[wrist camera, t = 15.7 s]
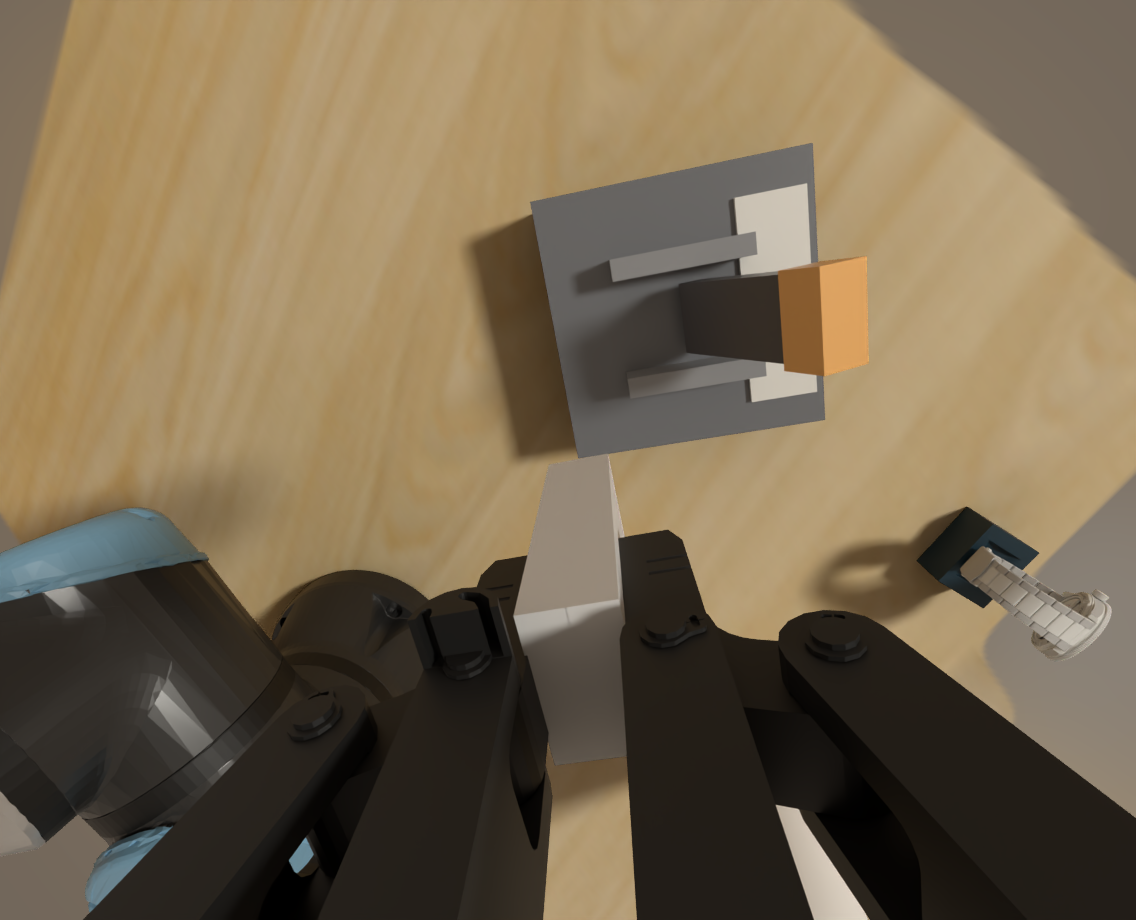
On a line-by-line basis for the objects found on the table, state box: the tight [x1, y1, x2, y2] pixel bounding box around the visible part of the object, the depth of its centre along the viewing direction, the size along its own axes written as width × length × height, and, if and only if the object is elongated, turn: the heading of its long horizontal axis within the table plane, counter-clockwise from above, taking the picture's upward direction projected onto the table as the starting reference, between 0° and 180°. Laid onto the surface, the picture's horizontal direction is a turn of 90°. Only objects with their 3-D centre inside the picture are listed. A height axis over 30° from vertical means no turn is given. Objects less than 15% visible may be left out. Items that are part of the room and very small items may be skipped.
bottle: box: [776, 805, 868, 920], centre depth 37 cm, size 8×8×30 cm
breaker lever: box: [679, 256, 869, 376], centre depth 29 cm, size 2×4×11 cm, turn 13°
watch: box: [917, 507, 1112, 661], centre depth 40 cm, size 6×8×11 cm
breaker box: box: [530, 143, 825, 458], centre depth 36 cm, size 16×16×8 cm
